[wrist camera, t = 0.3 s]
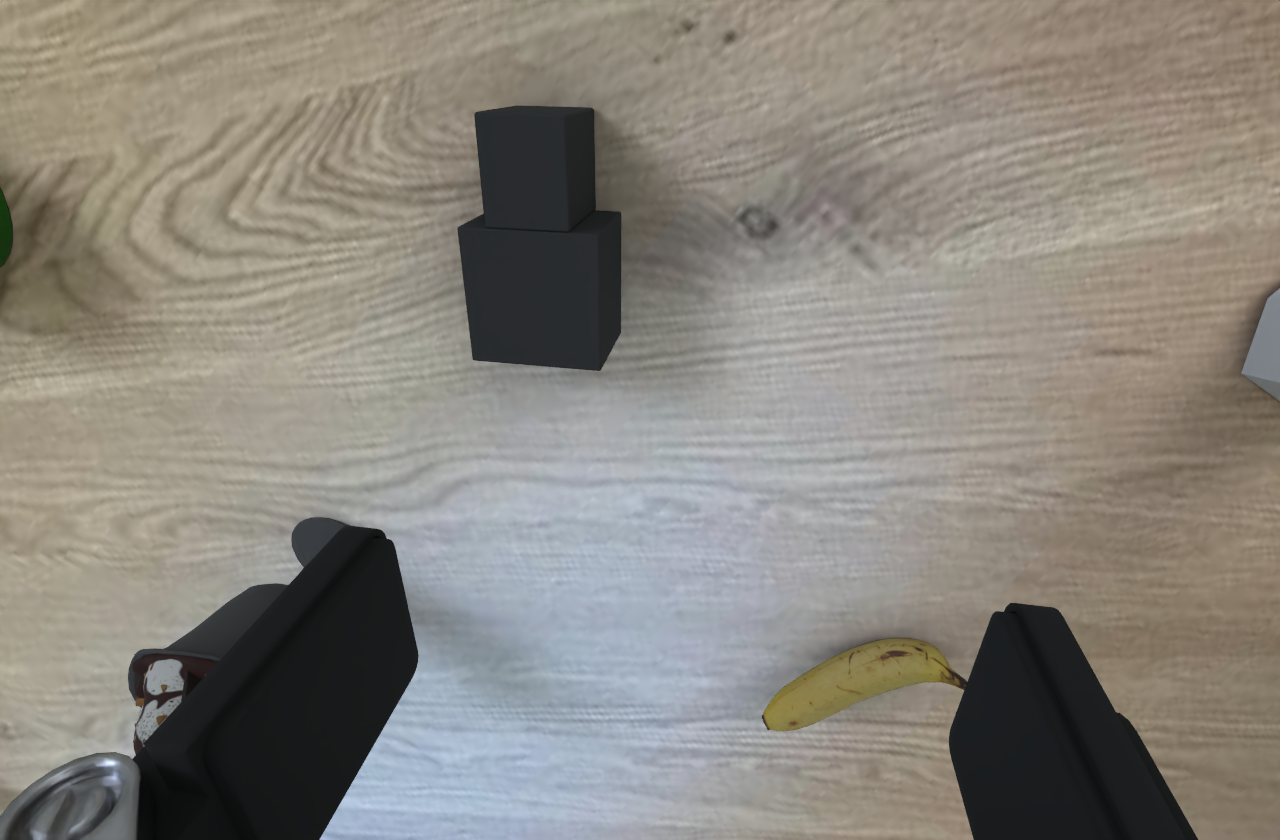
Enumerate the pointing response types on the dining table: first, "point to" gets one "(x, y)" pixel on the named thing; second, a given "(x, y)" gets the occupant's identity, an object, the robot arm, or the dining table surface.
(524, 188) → the pad
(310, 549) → the sundae
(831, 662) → the banana
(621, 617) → the dining table surface
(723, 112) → the dining table surface
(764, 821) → the dining table surface
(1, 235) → the candle
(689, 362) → the dining table surface
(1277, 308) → the flask
